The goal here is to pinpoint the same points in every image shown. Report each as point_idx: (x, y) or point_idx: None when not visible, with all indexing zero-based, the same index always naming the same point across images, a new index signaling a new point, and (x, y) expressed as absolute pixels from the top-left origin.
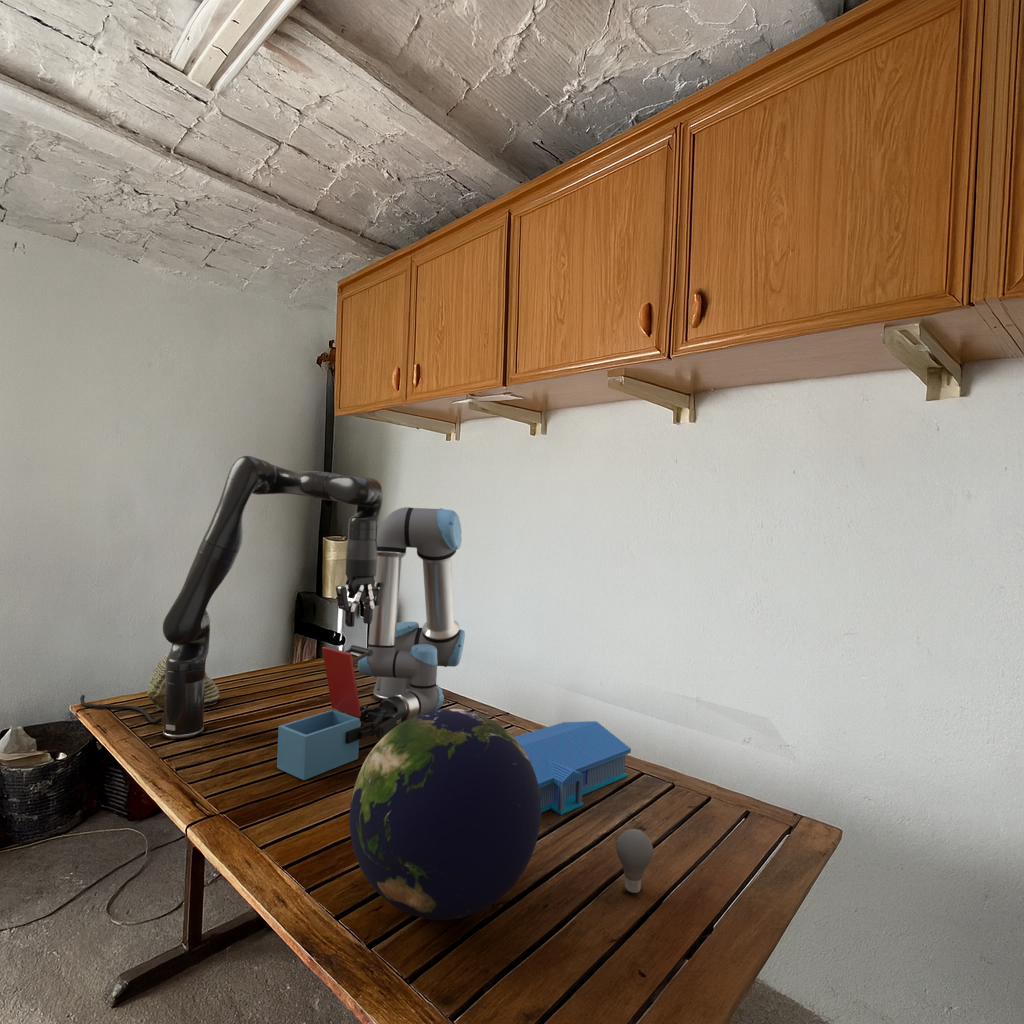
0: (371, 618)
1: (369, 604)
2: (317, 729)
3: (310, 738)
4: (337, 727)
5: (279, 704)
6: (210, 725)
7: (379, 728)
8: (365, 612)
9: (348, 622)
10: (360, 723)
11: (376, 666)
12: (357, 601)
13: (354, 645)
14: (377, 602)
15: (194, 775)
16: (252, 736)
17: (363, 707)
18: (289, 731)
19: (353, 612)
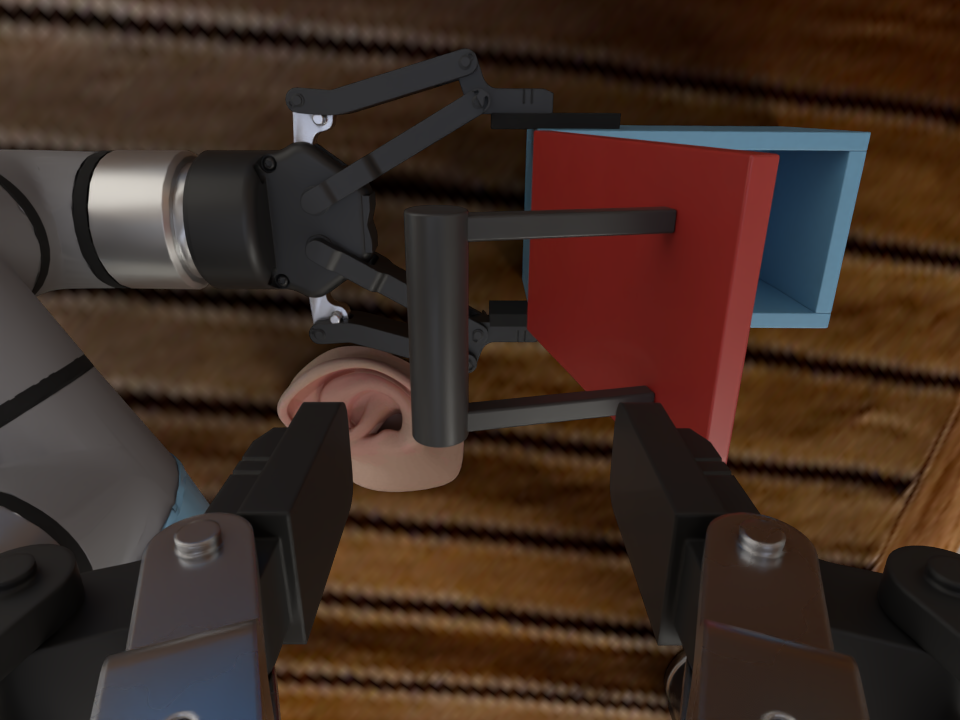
0: (287, 428)
1: (258, 598)
2: None
3: (835, 131)
4: (683, 130)
5: (382, 687)
6: (631, 677)
7: (474, 53)
8: (316, 563)
9: (712, 452)
10: (304, 370)
11: (147, 456)
12: (746, 640)
13: (434, 428)
14: (15, 594)
15: (914, 419)
16: (615, 538)
17: (342, 322)
18: (841, 251)
19: (703, 511)
